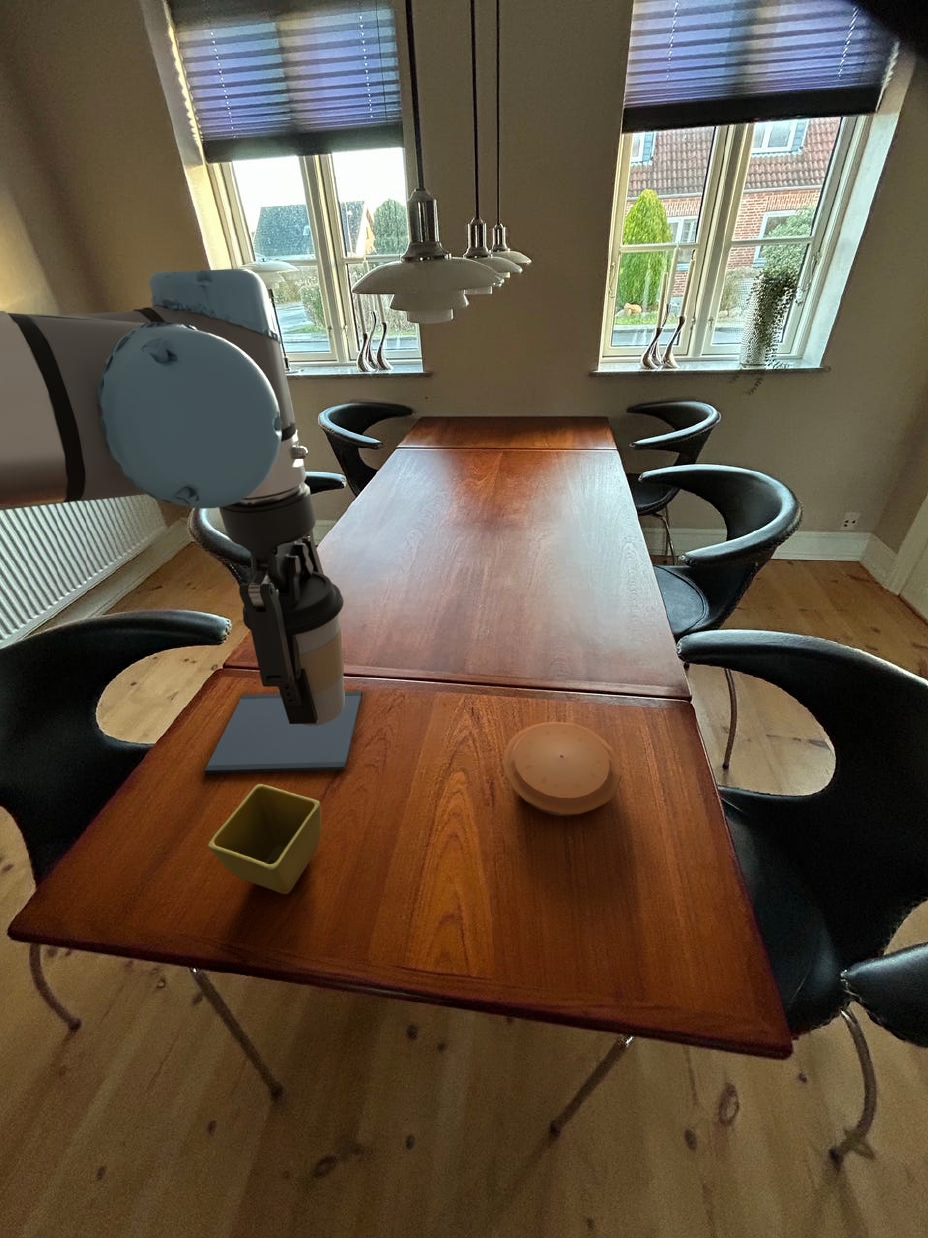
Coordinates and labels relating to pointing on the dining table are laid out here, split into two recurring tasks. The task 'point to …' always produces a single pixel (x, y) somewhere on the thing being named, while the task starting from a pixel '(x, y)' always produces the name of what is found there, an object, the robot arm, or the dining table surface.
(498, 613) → the dining table surface
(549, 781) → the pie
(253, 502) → the robot arm
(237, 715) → the cup mat
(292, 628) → the coffee cup
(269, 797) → the flower pot
